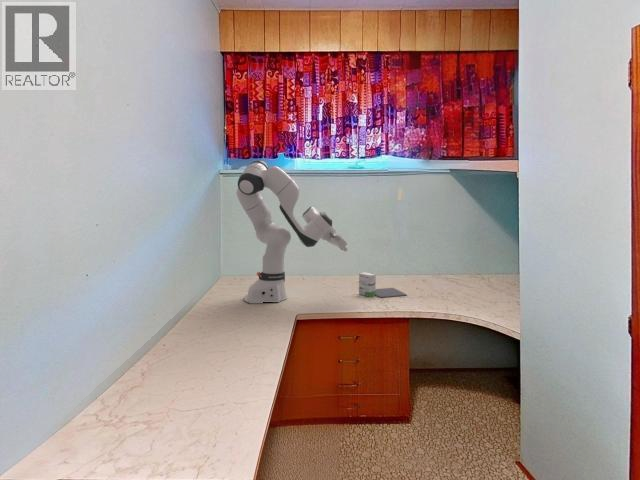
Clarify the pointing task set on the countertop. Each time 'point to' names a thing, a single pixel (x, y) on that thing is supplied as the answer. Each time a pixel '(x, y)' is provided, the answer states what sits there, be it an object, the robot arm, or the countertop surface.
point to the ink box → (367, 284)
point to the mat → (388, 293)
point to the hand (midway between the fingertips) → (344, 249)
